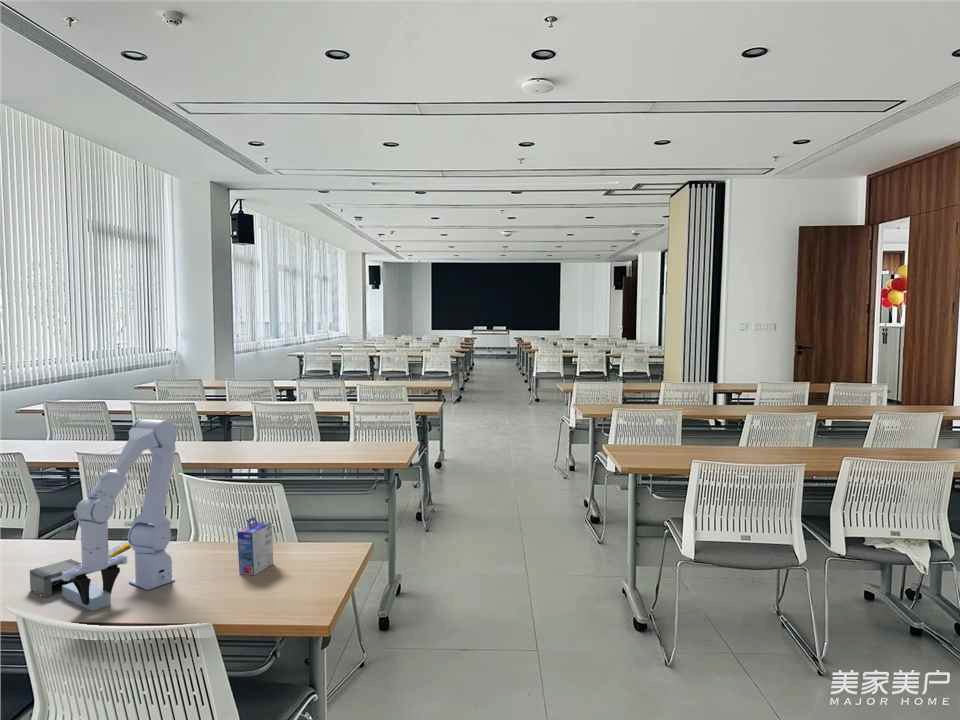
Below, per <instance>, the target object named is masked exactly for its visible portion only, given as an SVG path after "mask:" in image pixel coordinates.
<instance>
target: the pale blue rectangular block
mask: <svg viewBox="0 0 960 720" xmlns="http://www.w3.org/2000/svg"><path fill="white" fill-rule="evenodd" d="M61 593H62V594H61V595H62V596H61V598H63V597H64V598H63V599H65V598H66V599H65V600H67V599H68V600H67V601H70V602H72V603H74V604H76V605H78V606H79V607H82V608H84V609H86V610H88V611H90V612H93V611H96V610H99V609H103V608H105V606H106V607H108V606H111V605H112V604H111V602H112V601H111V596H112V595H111V596H110V593H109V592H107V591H105V590H103V588H101V587H98V586H95V585H93V584H91V583H90V587H89V604H88V605H84V604H82V601H81V597H80V594H79V592H78V590H77V588H76V586H75V585H74V583H67V584H62V585H61ZM102 607H103V608H102Z"/></svg>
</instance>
